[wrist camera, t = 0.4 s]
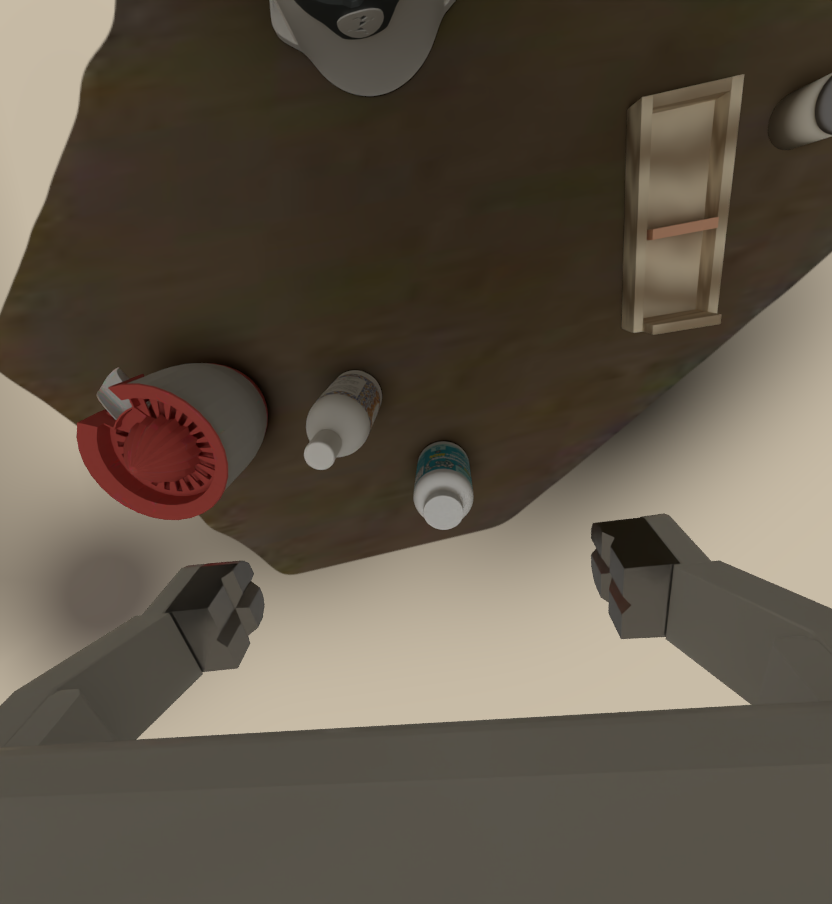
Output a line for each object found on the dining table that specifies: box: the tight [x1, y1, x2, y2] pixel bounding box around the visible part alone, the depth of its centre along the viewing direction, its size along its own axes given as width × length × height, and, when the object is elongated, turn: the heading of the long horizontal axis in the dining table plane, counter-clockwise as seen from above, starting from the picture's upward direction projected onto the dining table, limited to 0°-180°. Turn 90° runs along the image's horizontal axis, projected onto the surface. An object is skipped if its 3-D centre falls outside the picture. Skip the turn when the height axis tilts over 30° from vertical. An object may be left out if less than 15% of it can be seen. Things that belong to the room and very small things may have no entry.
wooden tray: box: [621, 74, 744, 335], centre depth 44 cm, size 22×9×6 cm, turn 10°
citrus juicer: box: [77, 363, 268, 520], centre depth 49 cm, size 16×17×20 cm
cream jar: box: [768, 73, 832, 150], centre depth 39 cm, size 5×5×7 cm
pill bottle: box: [414, 441, 473, 530], centre depth 54 cm, size 8×7×14 cm
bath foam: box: [304, 370, 382, 470], centre depth 48 cm, size 7×7×20 cm
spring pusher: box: [647, 217, 719, 240], centre depth 44 cm, size 1×6×3 cm, turn 101°
